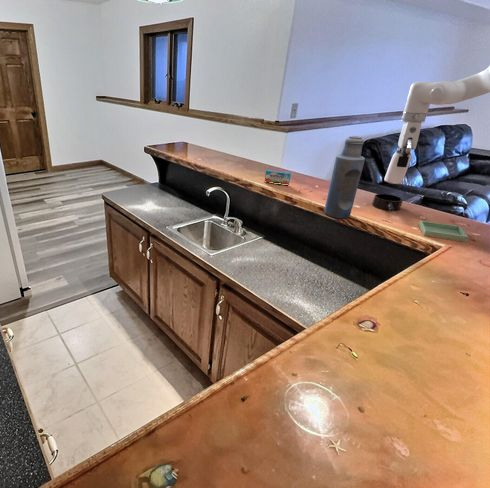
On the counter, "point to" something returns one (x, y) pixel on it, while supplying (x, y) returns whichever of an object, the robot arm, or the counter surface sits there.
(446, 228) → the tray
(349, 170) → the bottle
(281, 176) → the teal printed box
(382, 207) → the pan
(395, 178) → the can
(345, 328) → the counter surface
